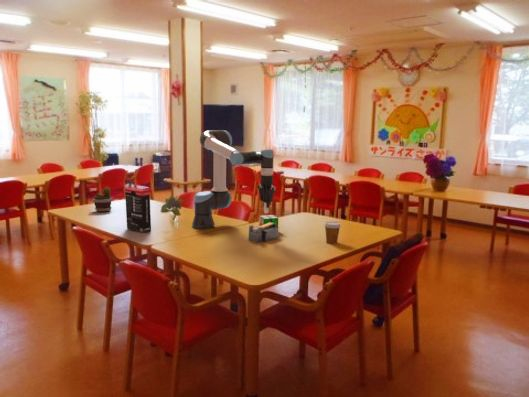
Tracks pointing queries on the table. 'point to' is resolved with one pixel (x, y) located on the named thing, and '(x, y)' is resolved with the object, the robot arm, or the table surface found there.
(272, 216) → the puzzle cube
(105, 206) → the flowerpot
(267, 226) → the strap
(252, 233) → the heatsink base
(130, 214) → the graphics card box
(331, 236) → the disposable coffee cup
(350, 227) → the table surface
